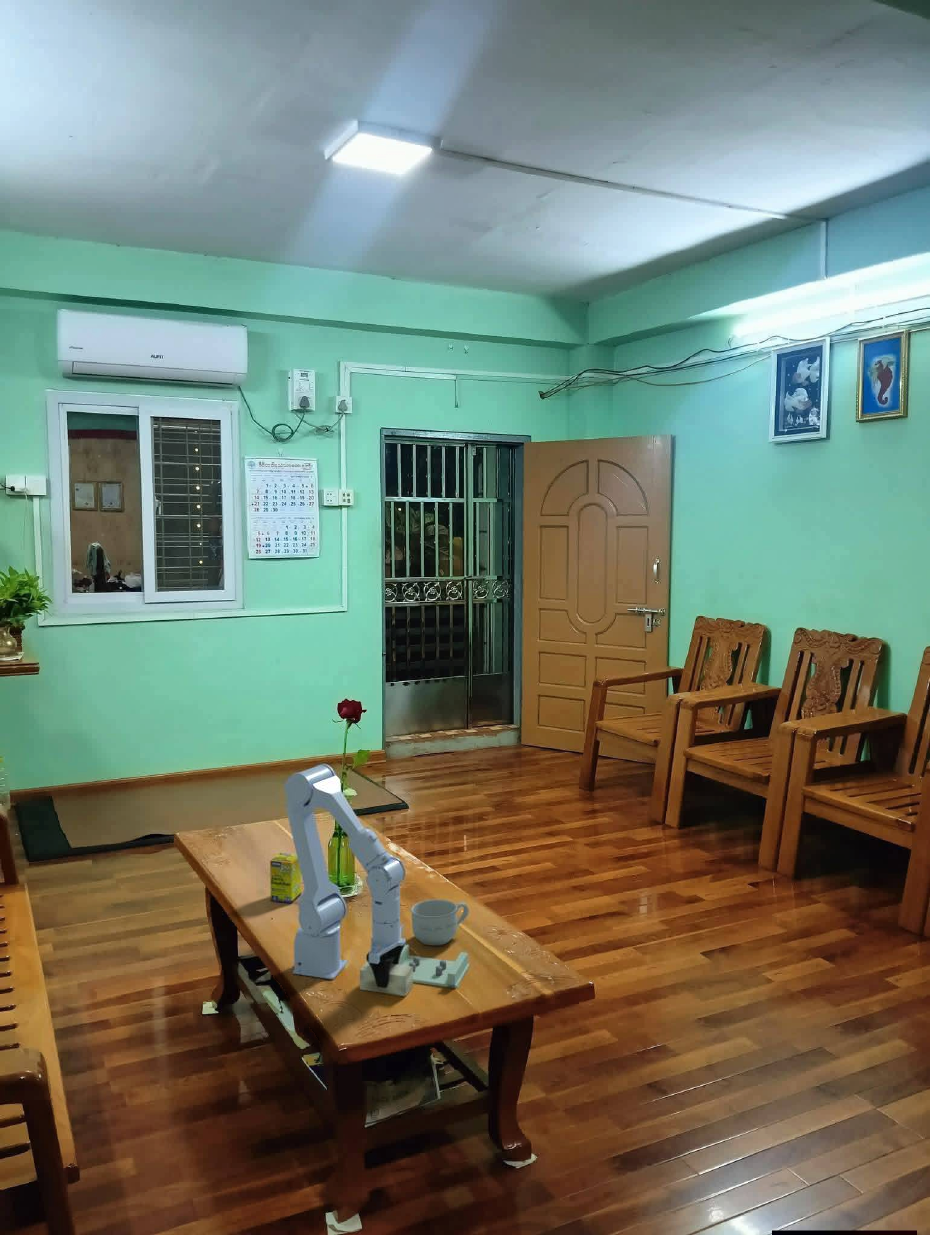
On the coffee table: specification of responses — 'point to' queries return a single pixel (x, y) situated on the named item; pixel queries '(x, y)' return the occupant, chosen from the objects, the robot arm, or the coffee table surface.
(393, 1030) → the coffee table surface
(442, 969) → the peg frame
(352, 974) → the coffee table surface
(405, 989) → the shelf block
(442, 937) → the teacup
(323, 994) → the coffee table surface
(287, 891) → the supplement box
